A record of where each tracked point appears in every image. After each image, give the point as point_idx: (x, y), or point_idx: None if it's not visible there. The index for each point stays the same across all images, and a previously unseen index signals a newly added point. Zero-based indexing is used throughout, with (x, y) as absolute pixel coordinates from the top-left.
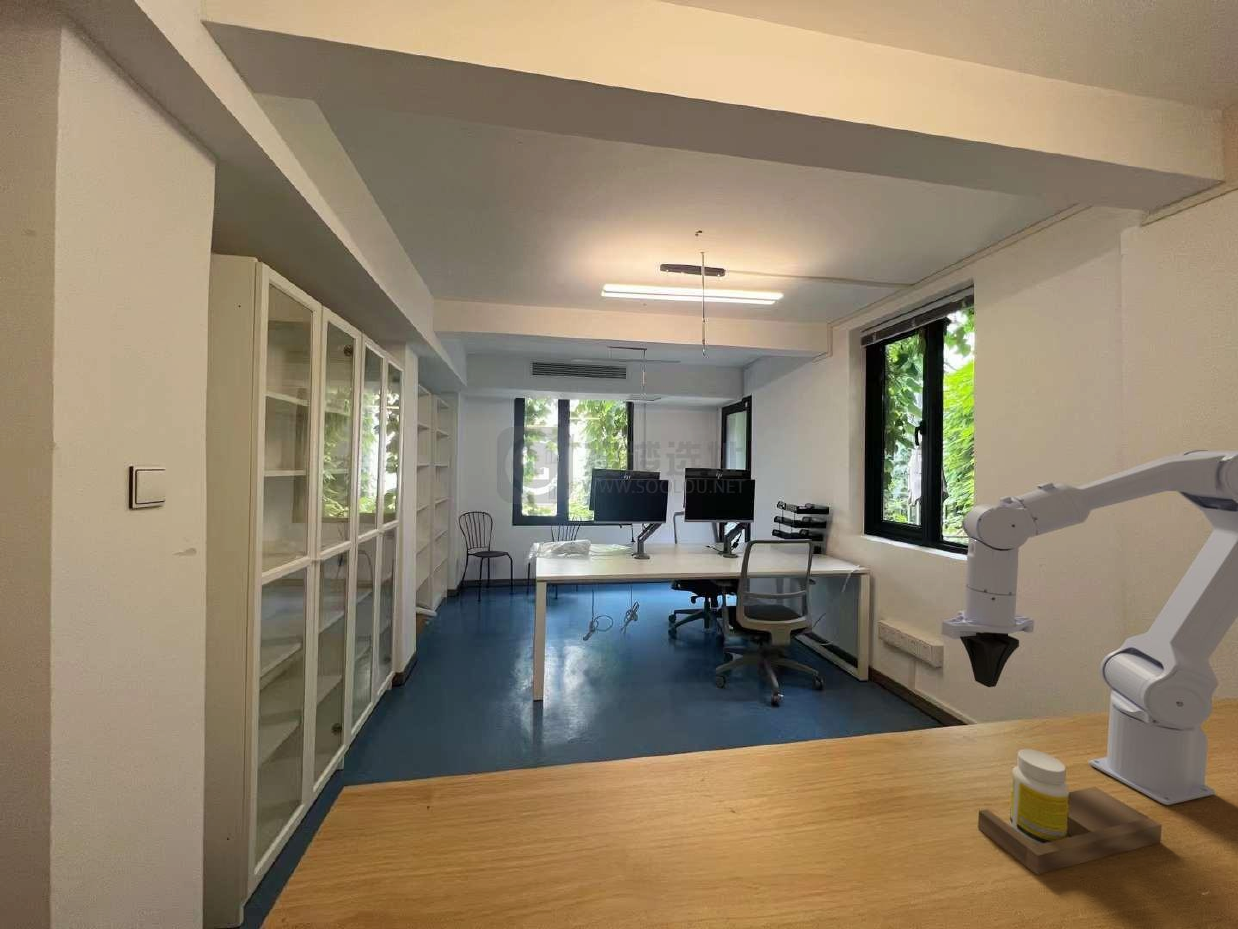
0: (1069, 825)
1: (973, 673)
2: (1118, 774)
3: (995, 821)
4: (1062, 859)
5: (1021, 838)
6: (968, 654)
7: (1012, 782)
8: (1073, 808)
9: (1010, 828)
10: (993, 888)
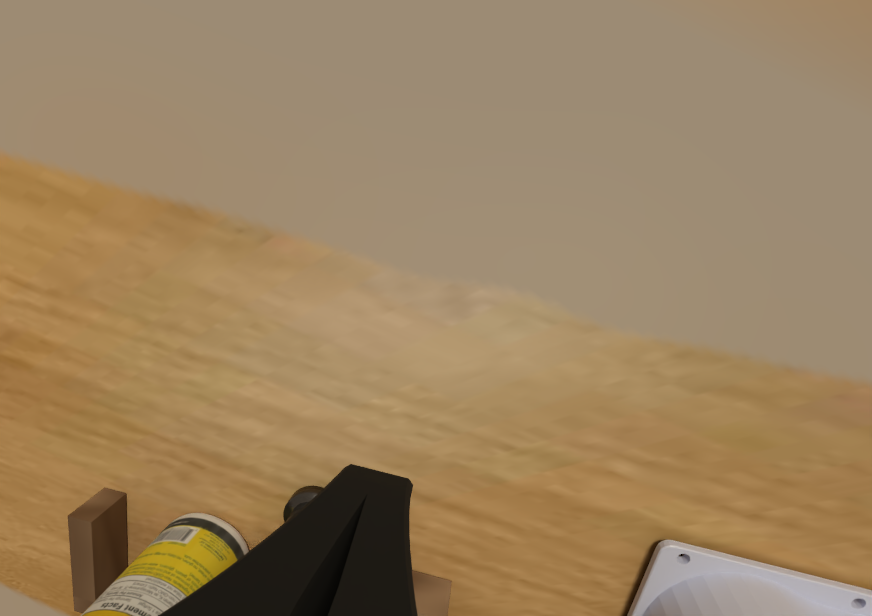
0: None
1: (325, 487)
2: (653, 603)
3: (76, 543)
4: None
5: (82, 585)
6: (187, 600)
7: (93, 603)
8: None
9: (86, 566)
10: (14, 551)
